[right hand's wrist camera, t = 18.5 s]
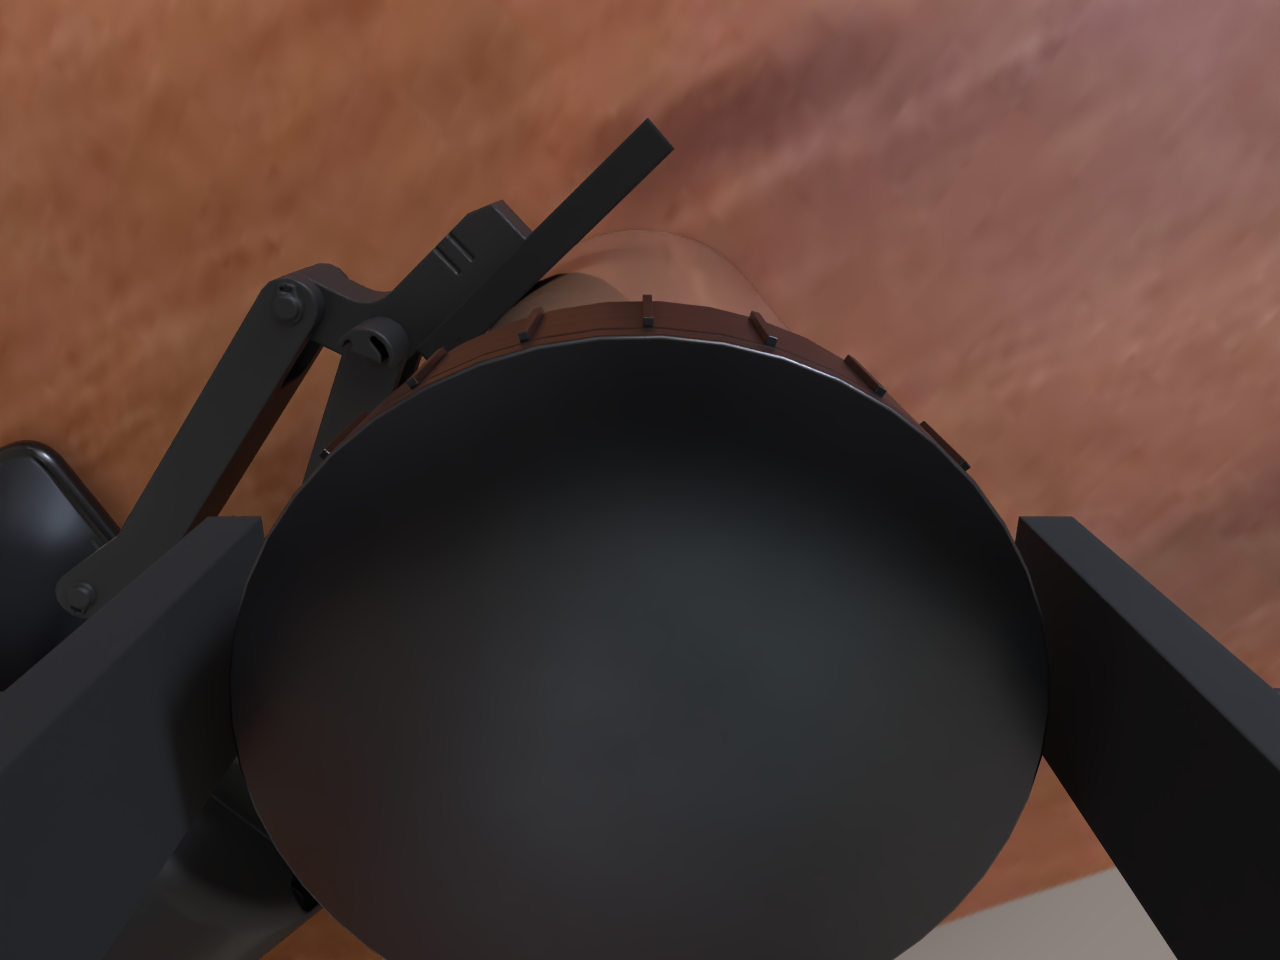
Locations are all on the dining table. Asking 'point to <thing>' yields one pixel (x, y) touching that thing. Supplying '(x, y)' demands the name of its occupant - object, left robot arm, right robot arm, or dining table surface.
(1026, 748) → the lid
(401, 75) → the dining table surface
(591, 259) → the jar
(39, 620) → the smartphone
